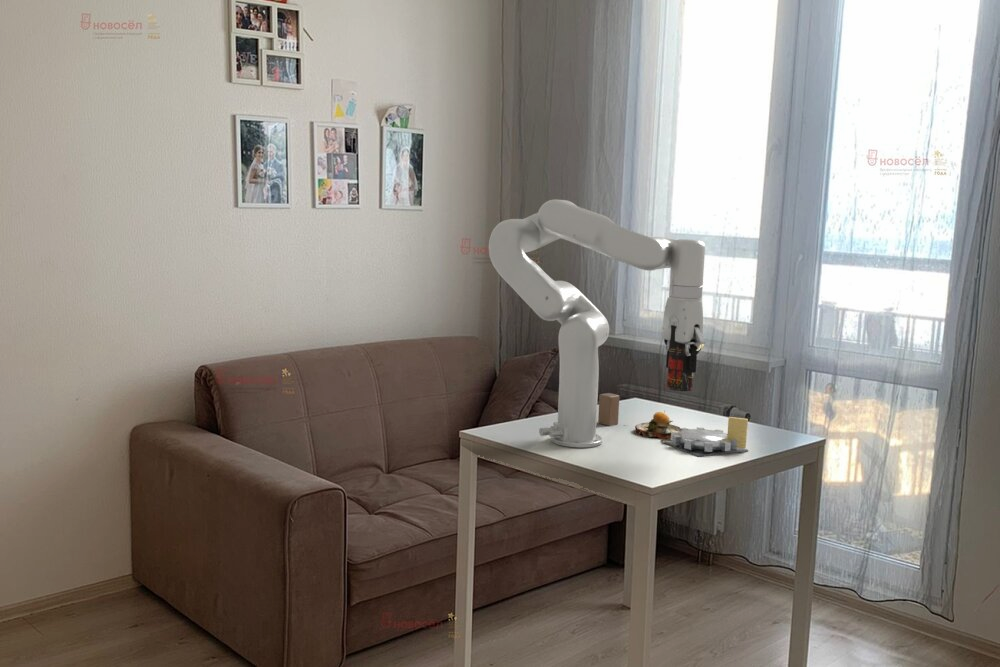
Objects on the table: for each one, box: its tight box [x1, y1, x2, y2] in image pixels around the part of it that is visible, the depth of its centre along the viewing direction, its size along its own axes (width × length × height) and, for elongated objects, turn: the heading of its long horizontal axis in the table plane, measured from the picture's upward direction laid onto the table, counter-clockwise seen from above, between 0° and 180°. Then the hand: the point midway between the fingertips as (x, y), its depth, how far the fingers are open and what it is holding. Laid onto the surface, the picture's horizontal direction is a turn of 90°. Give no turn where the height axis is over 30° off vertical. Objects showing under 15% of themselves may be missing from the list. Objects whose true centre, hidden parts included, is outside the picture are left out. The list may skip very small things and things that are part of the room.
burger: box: [634, 411, 681, 440], centre depth 238 cm, size 12×12×8 cm
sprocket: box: [671, 416, 749, 452], centre depth 225 cm, size 18×16×7 cm
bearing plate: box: [660, 438, 749, 458], centre depth 226 cm, size 16×15×1 cm
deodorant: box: [666, 325, 694, 392], centre depth 215 cm, size 6×6×15 cm
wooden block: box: [597, 392, 620, 427], centre depth 246 cm, size 4×4×8 cm
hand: (680, 369), depth 215 cm, fingers closed on deodorant, 5 cm apart
